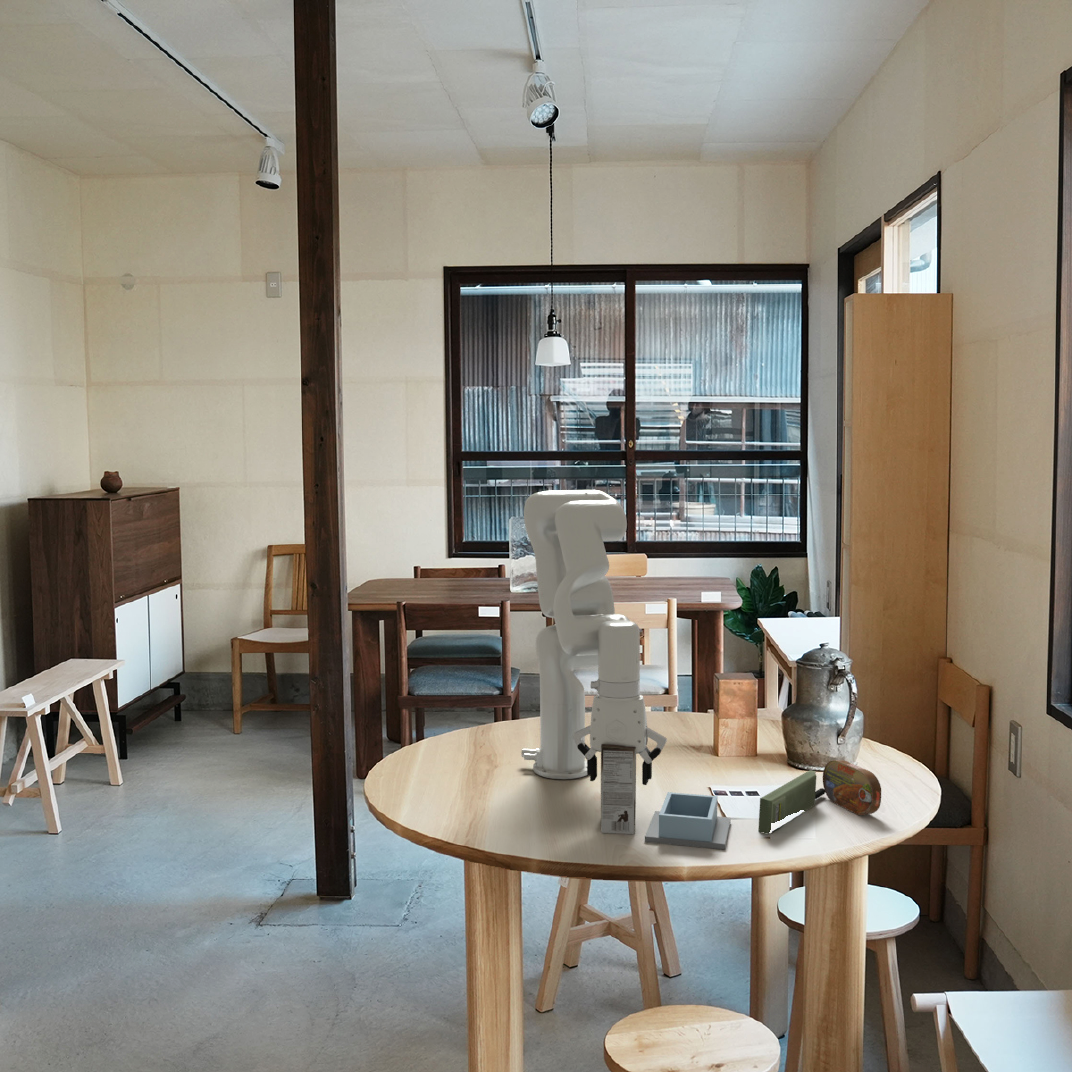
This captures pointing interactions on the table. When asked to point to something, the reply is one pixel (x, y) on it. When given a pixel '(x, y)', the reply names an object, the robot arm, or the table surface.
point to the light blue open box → (689, 822)
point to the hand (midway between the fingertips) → (619, 781)
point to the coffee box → (618, 789)
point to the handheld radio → (788, 800)
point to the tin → (852, 787)
